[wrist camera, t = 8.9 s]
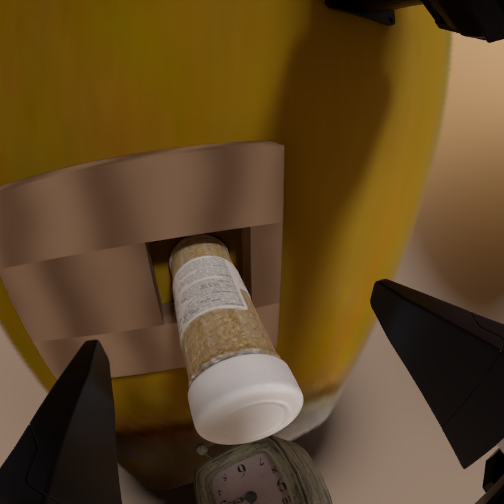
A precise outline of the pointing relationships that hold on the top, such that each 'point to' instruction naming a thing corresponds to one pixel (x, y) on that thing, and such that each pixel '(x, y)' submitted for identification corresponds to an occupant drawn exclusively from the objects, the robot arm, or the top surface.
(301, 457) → the tabletop clock
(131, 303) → the wooden board
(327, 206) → the top surface
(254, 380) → the sprinkles bottle
